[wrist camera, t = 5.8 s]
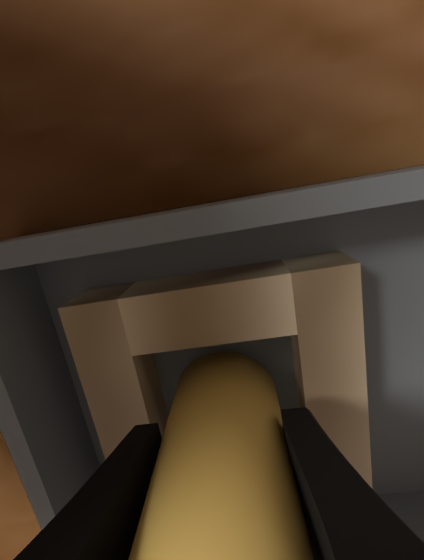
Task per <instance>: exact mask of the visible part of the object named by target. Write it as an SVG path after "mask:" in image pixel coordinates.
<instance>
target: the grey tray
mask: <svg viewBox="0 0 424 560" xmlns="http://www.w3.org/2000/svg"><path fill="white" fill-rule="evenodd" d="M332 251H340V252H342V253H344V254H345V255H347V256H349V257H351V258H353V259H354V260H356V261H358V262H360V265H361V284H362V303H363V321H364V340H365V358H366V377H367V396H368V414H369V433H370V451H371V470H372V488H373V490H374V491H375V492H376V493H377V495H378V496H379V497H380V498H381V499H382V500H383V501H384V502H385V503H386V504H387V505H388V506H389V507H390V508H391V509H392V511H393V512H394V513H395V514H396V515H397V516H398V517H399V518H400V519H401V520H402V521H403V522H404V523H405V524H406V525H407V526H408V527H409V528H410V529H411V530H412V531H413V532H414V533H415V534H416V535H417V536H418V537H419V538H420V539H421V540H422V541H423V542H424V165H420V166H415V167H409V168H403V169H398V170H392V171H386V172H381V173H375V174H369V175H364V176H358V177H353V178H347V179H341V180H336V181H330V182H324V183H319V184H313V185H307V186H302V187H296V188H290V189H285V190H279V191H274V192H268V193H262V194H257V195H251V196H245V197H240V198H234V199H228V200H223V201H217V202H211V203H206V204H200V205H195V206H189V207H183V208H178V209H172V210H166V211H161V212H155V213H149V214H144V215H138V216H132V217H127V218H121V219H115V220H110V221H104V222H99V223H93V224H87V225H82V226H76V227H70V228H65V229H59V230H53V231H48V232H42V233H36V234H31V235H25V236H20V237H15V238H10V239H5V240H0V430H1V432H2V435H3V437H4V440H5V442H6V444H7V447H8V449H9V452H10V454H11V457H12V459H13V462H14V464H15V466H16V469H17V471H18V474H19V476H20V479H21V481H22V484H23V486H24V488H25V491H26V493H27V496H28V498H29V501H30V503H31V506H32V508H33V510H34V513H35V515H36V518H37V520H38V523H39V525H40V527H41V530H43V528H44V527H45V526H46V525H47V524H48V523H49V522H50V521H51V520H52V519H53V518H54V517H55V516H56V515H57V514H58V513H59V511H60V510H61V509H62V508H63V507H64V506H65V505H66V504H67V503H68V502H69V501H70V500H71V499H72V498H73V496H74V495H75V494H76V493H77V492H78V491H79V490H80V489H81V487H82V486H83V485H84V484H85V483H86V482H87V481H88V479H89V478H90V477H91V476H92V475H93V474H94V473H95V471H96V470H97V469H98V468H99V467H100V466H101V465H102V463H103V462H104V461H105V456H104V453H103V450H102V447H101V444H100V441H99V437H98V434H97V431H96V428H95V425H94V422H93V419H92V415H91V412H90V409H89V406H88V403H87V400H86V397H85V393H84V390H83V387H82V384H81V381H80V378H79V374H78V371H77V368H76V365H75V362H74V359H73V356H72V352H71V349H70V346H69V343H68V340H67V337H66V334H65V330H64V327H63V324H62V321H61V318H60V315H59V311H58V308H59V307H60V306H62V305H63V304H65V303H66V302H68V301H69V300H71V299H72V298H74V297H75V296H77V295H78V294H80V293H81V292H82V291H84V290H86V289H93V288H99V287H106V286H112V285H119V284H125V283H132V282H138V281H145V280H151V279H157V278H164V277H170V276H177V275H183V274H190V273H196V272H203V271H209V270H216V269H222V268H228V267H235V266H241V265H248V264H254V263H261V262H267V261H274V260H280V259H287V258H293V257H299V256H306V255H312V254H319V253H325V252H332ZM216 352H233V353H238V354H242V355H245V356H247V357H250V358H252V359H253V360H255V361H257V362H258V363H259V364H261V365H262V366H263V367H264V368H265V369H266V370H267V372H268V373H269V374H270V376H271V377H272V379H273V382H274V384H275V388H276V392H277V397H278V401H279V405H280V410H282V409H292V408H298V399H297V391H296V382H295V374H294V366H293V357H292V349H291V341H290V336H282V337H275V338H267V339H259V340H252V341H244V342H236V343H229V344H221V345H213V346H205V347H198V348H190V349H182V350H175V351H167V352H159V353H153V356H154V360H155V364H156V368H157V372H158V376H159V380H160V384H161V388H162V392H163V396H164V401H165V405H166V409H167V413H168V416H169V413H170V409H171V406H172V402H173V399H174V395H175V392H176V388H177V384H178V381H179V379H180V376H181V375H182V373H183V372H184V370H185V369H186V368H187V367H188V366H189V365H190V364H191V363H192V362H194V361H195V360H197V359H198V358H200V357H202V356H205V355H208V354H211V353H216Z"/></svg>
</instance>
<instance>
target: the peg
mask: <svg viewBox="0 0 424 560" xmlns="http://www.w3.org/2000/svg"><path fill="white" fill-rule="evenodd" d="M128 560H314V558H313V554H312V549H311V545H310V540H309V536H308V531H307V527H306V522H305V518H304V513H303V509H302V504H301V500H300V496H299V492H298V488H297V484H296V481H295V477H294V473H293V470H292V466H291V462H290V458H289V453H288V449H287V444H286V440H285V435H284V430H283V424H282V417H281V410H280V405H279V401H278V397H277V392H276V388H275V384H274V382H273V379H272V377H271V376H270V374H269V373H268V372H267V370H266V369H265V368H264V367H263V366H262V365H261V364H259V363H258V362H257V361H255V360H253V359H252V358H250V357H247V356H245V355H242V354H238V353H233V352H216V353H211V354H208V355H205V356H202V357H200V358H198V359H197V360H195V361H194V362H192V363H191V364H190V365H189V366H188V367H187V368H186V369H185V370H184V372H183V373H182V375H181V376H180V379H179V381H178V384H177V388H176V392H175V395H174V399H173V402H172V406H171V409H170V413H169V416H168V420H167V424H166V427H165V431H164V434H163V438H162V441H161V445H160V449H159V452H158V456H157V459H156V463H155V466H154V470H153V474H152V477H151V481H150V484H149V488H148V491H147V495H146V498H145V502H144V506H143V509H142V513H141V516H140V520H139V523H138V527H137V531H136V534H135V538H134V541H133V545H132V548H131V552H130V556H129V559H128Z"/></svg>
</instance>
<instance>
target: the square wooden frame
mask: <svg viewBox="0 0 424 560" xmlns="http://www.w3.org/2000/svg"><path fill="white" fill-rule="evenodd" d="M58 311H59V315H60V318H61V321H62V324H63V327H64V330H65V334H66V337H67V340H68V343H69V346H70V349H71V352H72V356H73V359H74V362H75V365H76V368H77V371H78V374H79V378H80V381H81V384H82V387H83V390H84V393H85V397H86V400H87V403H88V406H89V409H90V412H91V415H92V419H93V422H94V425H95V428H96V431H97V434H98V437H99V441H100V444H101V447H102V450H103V453H104V456H105V460H106V459H107V457H108V456H109V455H110V454H111V453H112V452H113V450H114V449H115V448H116V447H117V446H118V445H119V443H120V442H121V441H122V440H123V439H124V437H125V436H126V435H127V434H128V433H129V432H130V431H131V430H132V428H133V427H134V426H135V425H142V424H151V423H158V425H159V429H160V433H161V437H162V438H163V434H164V431H165V427H166V424H167V420H168V413H167V409H166V405H165V401H164V396H163V392H162V388H161V384H160V380H159V376H158V372H157V368H156V364H155V360H154V356H153V353H159V352H167V351H175V350H182V349H190V348H198V347H205V346H213V345H221V344H229V343H236V342H244V341H252V340H259V339H267V338H275V337H282V336H290V341H291V349H292V357H293V366H294V374H295V382H296V391H297V399H298V408H301V407H306V408H307V409H309V410H310V411H311V413H312V414H313V416H314V417H315V419H316V420H317V422H318V423H319V425H320V426H321V427H322V429H323V430H324V431H325V433H326V434H327V435H328V437H329V438H330V439H331V441H332V442H333V443H334V444H335V446H336V447H337V448H338V449H339V451H340V452H341V453H342V454H343V456H344V457H345V458H346V459H347V460H348V462H349V463H350V464H351V465H352V466H353V467H354V468H355V470H356V471H357V472H358V473H359V474H360V475H361V477H362V478H363V479H364V480H365V481H366V482H367V484H368V485H369V486H370V487H371V488H372V470H371V451H370V433H369V414H368V396H367V377H366V358H365V340H364V321H363V303H362V284H361V265H360V262H358V261H356V260H354V259H353V258H351V257H349V256H347V255H345V254H344V253H342V252H340V251H332V252H325V253H319V254H312V255H306V256H299V257H293V258H287V259H280V260H274V261H267V262H261V263H254V264H248V265H241V266H235V267H228V268H222V269H216V270H209V271H203V272H196V273H190V274H183V275H177V276H170V277H164V278H157V279H151V280H145V281H138V282H132V283H125V284H119V285H112V286H106V287H99V288H93V289H86V290H84V291H82V292H81V293H80V294H78V295H77V296H75V297H74V298H72V299H71V300H69V301H68V302H66V303H65V304H63V305H62V306H60V307H59V308H58ZM372 489H373V488H372Z"/></svg>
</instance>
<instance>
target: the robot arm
mask: <svg viewBox="0 0 424 560" xmlns="http://www.w3.org/2000/svg"><path fill="white" fill-rule="evenodd" d="M281 417H282V424H283V430H284V435H285V440H286V444H287V449H288V453H289V458H290V462H291V466H292V470H293V473H294V477H295V481H296V484H297V488H298V492H299V496H300V500H301V504H302V509H303V513H304V518H305V522H306V527H307V531H308V536H309V540H310V545H311V549H312V554H313V558H314V560H424V542H423V541H422V540H421V539H420V538H419V537H418V536H417V535H416V534H415V533H414V532H413V531H412V530H411V529H410V528H409V527H408V526H407V525H406V524H405V523H404V522H403V521H402V520H401V519H400V518H399V517H398V516H397V515H396V514H395V513H394V512H393V511H392V509H391V508H390V507H389V506H388V505H387V504H386V503H385V502H384V501H383V500H382V499H381V498H380V497H379V496H378V495H377V493H376V492H375V491H374V490H373V489H372V488H371V487H370V486H369V485H368V484H367V482H366V481H365V480H364V479H363V478H362V477H361V475H360V474H359V473H358V472H357V471H356V470H355V468H354V467H353V466H352V465H351V464H350V463H349V462H348V460H347V459H346V458H345V457H344V456H343V454H342V453H341V452H340V451H339V449H338V448H337V447H336V446H335V444H334V443H333V442H332V441H331V439H330V438H329V437H328V435H327V434H326V433H325V431H324V430H323V429H322V427H321V426H320V425H319V423H318V422H317V420H316V419H315V417H314V416H313V414H312V413H311V411H310V410H309V409H307V408H306V407H301V408H292V409H282V410H281ZM161 441H162V437H161V433H160V429H159V425H158V423H151V424H142V425H135V426H134V427H133V428H132V430H131V431H130V432H129V433H128V434H127V435H126V436H125V437H124V439H123V440H122V441H121V442H120V443H119V445H118V446H117V447H116V448H115V449H114V450H113V452H112V453H111V454H110V455H109V456H108V457H107V459H106V460H105V461H104V462H103V463H102V465H101V466H100V467H99V468H98V469H97V470H96V471H95V473H94V474H93V475H92V476H91V477H90V478H89V479H88V481H87V482H86V483H85V484H84V485H83V486H82V487H81V489H80V490H79V491H78V492H77V493H76V494H75V495H74V496H73V498H72V499H71V500H70V501H69V502H68V503H67V504H66V505H65V506H64V507H63V508H62V509H61V510H60V511H59V513H58V514H57V515H56V516H55V517H54V518H53V519H52V520H51V521H50V522H49V523H48V524H47V525H46V526H45V527H44V528H43V530H42V531H41V532H40V533H39V534H38V535H37V536H36V537H35V538H34V539H33V540H32V541H31V542H30V543H29V544H28V545H27V546H26V547H25V548H24V549H23V550H22V551H21V552H20V553H19V554H18V555H17V556H16V557H15V558H14V559H13V560H128V559H129V556H130V552H131V548H132V545H133V541H134V538H135V534H136V531H137V527H138V523H139V520H140V516H141V513H142V509H143V506H144V502H145V498H146V495H147V491H148V488H149V484H150V481H151V477H152V474H153V470H154V466H155V463H156V459H157V456H158V452H159V449H160V445H161Z"/></svg>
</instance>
